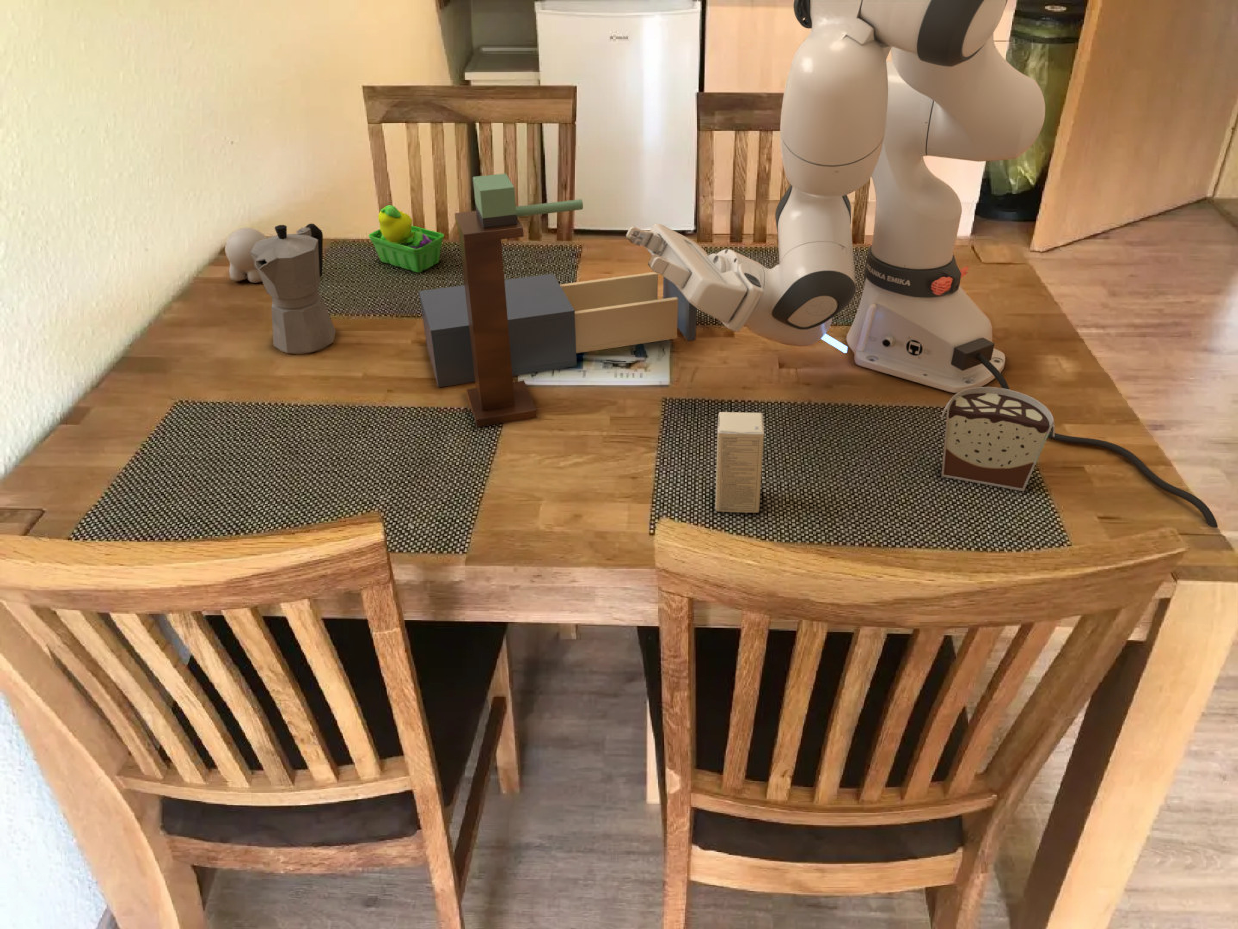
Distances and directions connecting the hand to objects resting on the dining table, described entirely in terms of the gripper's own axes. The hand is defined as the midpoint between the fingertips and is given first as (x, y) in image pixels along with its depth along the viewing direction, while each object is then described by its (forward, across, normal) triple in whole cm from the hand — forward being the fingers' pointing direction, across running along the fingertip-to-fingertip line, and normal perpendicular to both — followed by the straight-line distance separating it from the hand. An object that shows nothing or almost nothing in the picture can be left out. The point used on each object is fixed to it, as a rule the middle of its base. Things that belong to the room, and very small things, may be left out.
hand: (640, 246), depth 123 cm
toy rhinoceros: (+33, -52, +42) cm, 75 cm away
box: (-12, +29, +16) cm, 35 cm away
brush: (+15, 0, +2) cm, 15 cm away
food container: (-39, +32, +1) cm, 50 cm away
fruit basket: (+12, -51, +31) cm, 61 cm away
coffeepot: (+28, -28, +39) cm, 56 cm away
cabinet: (+5, -14, +26) cm, 30 cm away
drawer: (-13, -14, +15) cm, 24 cm away
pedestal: (+6, 0, +27) cm, 28 cm away
